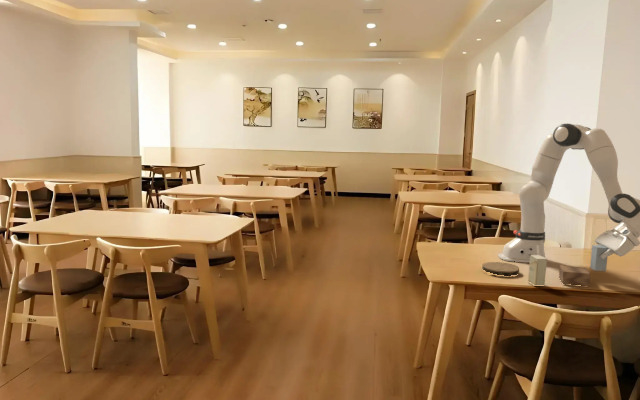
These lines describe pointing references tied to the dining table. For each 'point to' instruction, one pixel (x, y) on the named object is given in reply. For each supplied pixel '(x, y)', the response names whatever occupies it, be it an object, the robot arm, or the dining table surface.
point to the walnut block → (574, 275)
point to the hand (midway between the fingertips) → (597, 255)
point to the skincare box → (537, 270)
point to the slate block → (598, 258)
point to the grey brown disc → (501, 268)
